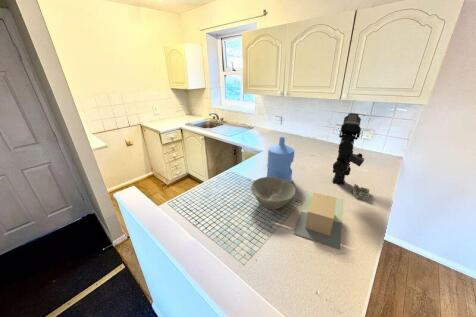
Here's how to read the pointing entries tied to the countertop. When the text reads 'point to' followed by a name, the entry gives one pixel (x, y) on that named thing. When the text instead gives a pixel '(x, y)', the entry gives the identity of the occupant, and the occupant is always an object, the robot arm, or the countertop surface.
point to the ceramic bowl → (273, 192)
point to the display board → (331, 240)
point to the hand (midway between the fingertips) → (340, 177)
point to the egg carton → (360, 194)
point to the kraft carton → (321, 213)
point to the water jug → (280, 161)
